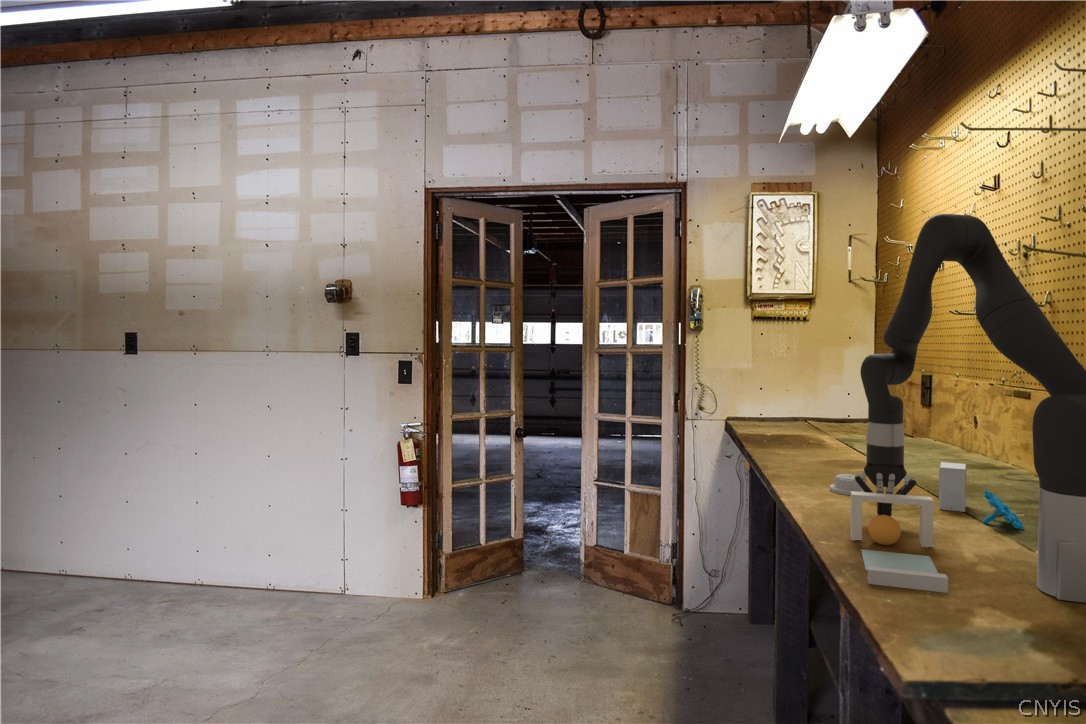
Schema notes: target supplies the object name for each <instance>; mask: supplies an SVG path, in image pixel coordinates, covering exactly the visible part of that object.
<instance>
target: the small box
mask: <svg viewBox="0 0 1086 724" xmlns="http://www.w3.org/2000/svg"><path fill="white" fill-rule="evenodd" d="M938 475H939V476H938V509H939V510H941V509H942V510H944V511H953V512H962V513H966V503H967V502H966V497H967V496H966V495H967V464H966V463H957V462H947V461H946V462H944V461H941V462H940V465H939V467H938Z"/></svg>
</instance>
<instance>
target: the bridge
mask: <svg viewBox="0 0 1086 724" xmlns="http://www.w3.org/2000/svg"><path fill="white" fill-rule="evenodd" d="M863 502H870V503H871V502H873V503H877V502H882V503H892V504H896V505H897V504H898V505H899V504H900V505H909V506H910V505H911V506H912V505H913V506H919V542H920V543H919V545H920V544H921V545H920V546H922V547H921V548H928V547H932V548H931V549H934V502H935V501H934V499H933V497H932V496H924V495H922V496H921V495H910V494H906V495H896V493H895V494H894V493H893V494H886V493H883V494H882V493H877V492H873V493H868V492H854V491H851V495H850V540H851V541H855V540H861V541H860V542H862V541H863Z"/></svg>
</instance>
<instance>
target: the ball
mask: <svg viewBox="0 0 1086 724" xmlns="http://www.w3.org/2000/svg"><path fill="white" fill-rule="evenodd" d="M867 531H868V534H869V536H870V538H871V539H872V540H873V541H874V542H876V543H877V544H880V545H882V546H889V545H893V544H895V543H896V542H897V541H898V540H899V539H900V537H901V534H902V533H901V532H902V530H901V526H900V524H899V522H898V521H897V520H896V519H895V518H894V517H892V516H891V517H890V516H887V515H878V514H877V515H875V516H874V517H872V518H871V520H870V521H869V522H868V526H867Z"/></svg>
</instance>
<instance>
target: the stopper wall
mask: <svg viewBox="0 0 1086 724" xmlns="http://www.w3.org/2000/svg"><path fill="white" fill-rule="evenodd" d="M867 583H868V585H875V586H884V587H892V588H902V589H909V590H911V589H912V590H917V591H925V592H926V591H927V592H934V593H936V592H937V593H942V594H944V593H945V594H948V593H949V577H948V576H947V574H946V573H939V572H938V573H929V572H920V571H910V570H901V569H891V568H882V567H873V566H868V571H867Z"/></svg>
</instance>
